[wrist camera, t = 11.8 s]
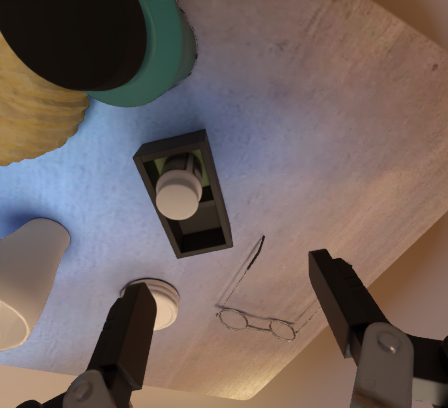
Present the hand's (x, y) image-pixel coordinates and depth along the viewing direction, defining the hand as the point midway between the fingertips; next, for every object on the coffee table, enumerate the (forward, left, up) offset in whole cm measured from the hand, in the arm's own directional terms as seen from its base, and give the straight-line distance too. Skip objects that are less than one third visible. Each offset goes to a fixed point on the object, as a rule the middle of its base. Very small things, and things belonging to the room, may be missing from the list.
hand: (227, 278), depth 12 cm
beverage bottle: (-11, -3, -21) cm, 24 cm away
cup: (+7, -27, -21) cm, 34 cm away
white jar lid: (+24, -18, -21) cm, 36 cm away
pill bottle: (+2, -4, -20) cm, 21 cm away
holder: (+5, -5, -21) cm, 22 cm away
